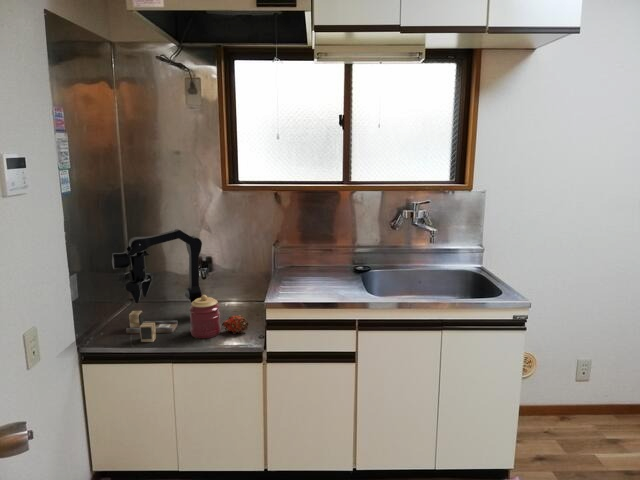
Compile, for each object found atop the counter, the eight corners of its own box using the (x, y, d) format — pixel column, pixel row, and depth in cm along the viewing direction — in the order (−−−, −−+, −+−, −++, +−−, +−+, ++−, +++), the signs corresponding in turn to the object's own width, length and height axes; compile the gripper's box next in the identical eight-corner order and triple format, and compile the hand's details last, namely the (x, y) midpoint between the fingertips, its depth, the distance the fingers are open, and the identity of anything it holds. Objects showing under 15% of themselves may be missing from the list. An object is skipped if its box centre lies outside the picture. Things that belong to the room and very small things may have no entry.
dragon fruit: (250, 337, 199) (224, 339, 201) (252, 320, 205) (227, 323, 207) (244, 326, 193) (217, 329, 195) (246, 310, 199) (221, 312, 201)
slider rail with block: (177, 325, 209) (176, 308, 208) (172, 332, 200) (171, 315, 199) (133, 325, 208) (132, 309, 207) (126, 333, 199) (124, 316, 198)
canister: (225, 328, 205) (224, 291, 201) (213, 340, 192) (211, 300, 189) (199, 326, 207) (197, 289, 204) (185, 337, 195) (182, 298, 191)
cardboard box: (144, 338, 194) (143, 322, 193) (156, 337, 195) (154, 322, 193) (140, 342, 190) (139, 326, 189) (152, 342, 190) (151, 326, 189)
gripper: (128, 261, 209) (131, 293, 212) (110, 271, 191) (114, 306, 194) (152, 261, 209) (155, 293, 212) (137, 271, 191) (140, 306, 194)
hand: (141, 299), depth 203 cm, fingers open, 9 cm apart
